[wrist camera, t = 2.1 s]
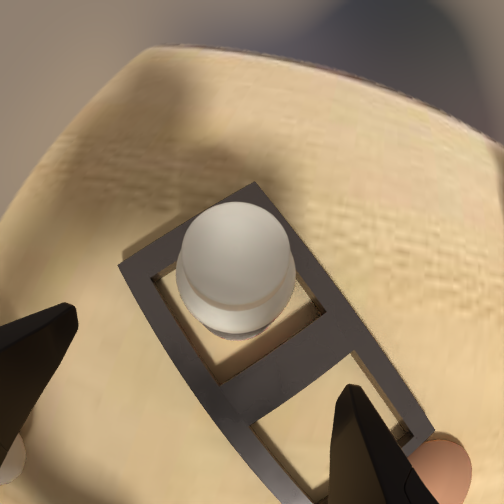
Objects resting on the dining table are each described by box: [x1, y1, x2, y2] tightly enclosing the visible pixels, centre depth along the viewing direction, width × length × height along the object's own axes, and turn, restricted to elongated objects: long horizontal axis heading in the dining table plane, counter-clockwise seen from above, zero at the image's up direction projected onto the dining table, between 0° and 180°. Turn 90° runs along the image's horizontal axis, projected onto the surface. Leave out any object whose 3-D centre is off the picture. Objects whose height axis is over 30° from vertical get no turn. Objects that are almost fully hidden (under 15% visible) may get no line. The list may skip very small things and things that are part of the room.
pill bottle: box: [176, 202, 296, 341], centre depth 16 cm, size 5×5×10 cm
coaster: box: [407, 440, 472, 504], centre depth 15 cm, size 10×10×1 cm
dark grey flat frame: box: [118, 182, 435, 504], centre depth 19 cm, size 11×22×1 cm, turn 35°
